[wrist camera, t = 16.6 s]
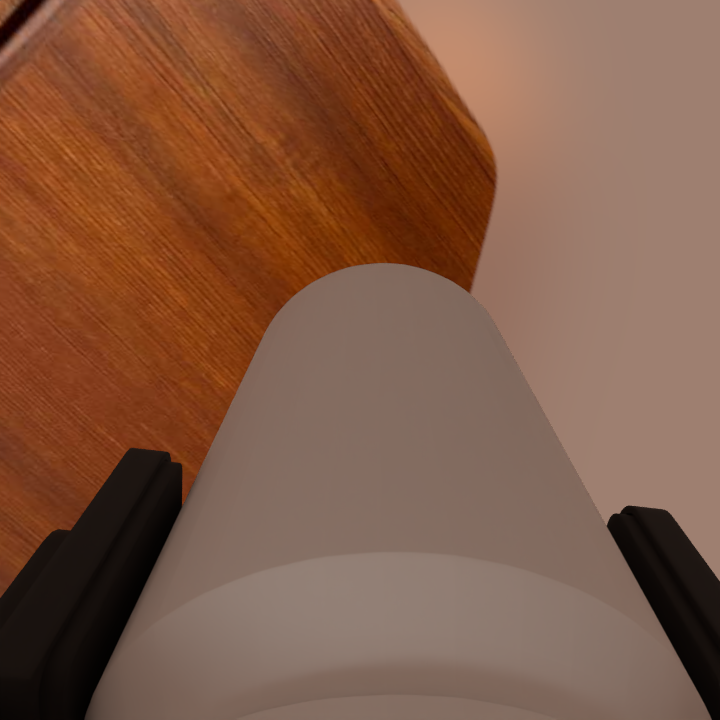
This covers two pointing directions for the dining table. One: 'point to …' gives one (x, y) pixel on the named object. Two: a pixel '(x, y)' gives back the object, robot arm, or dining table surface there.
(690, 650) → the robot arm
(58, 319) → the dining table surface
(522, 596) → the beverage can
